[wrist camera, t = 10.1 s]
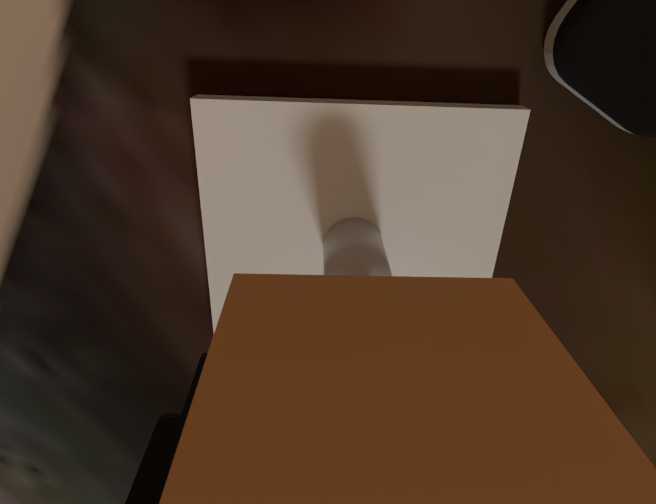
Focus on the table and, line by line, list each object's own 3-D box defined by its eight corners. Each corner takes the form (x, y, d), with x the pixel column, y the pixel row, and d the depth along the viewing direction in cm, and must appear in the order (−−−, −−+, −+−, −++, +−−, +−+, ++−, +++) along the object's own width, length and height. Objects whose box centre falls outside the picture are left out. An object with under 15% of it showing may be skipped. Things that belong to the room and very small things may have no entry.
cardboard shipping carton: (512, 278, 10) (707, 538, 5) (464, 463, 13) (558, 748, 8) (233, 273, 10) (146, 540, 5) (247, 463, 12) (202, 755, 7)
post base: (519, 104, 17) (592, 135, 12) (467, 340, 22) (506, 423, 17) (196, 94, 17) (150, 121, 12) (219, 335, 22) (192, 419, 17)
